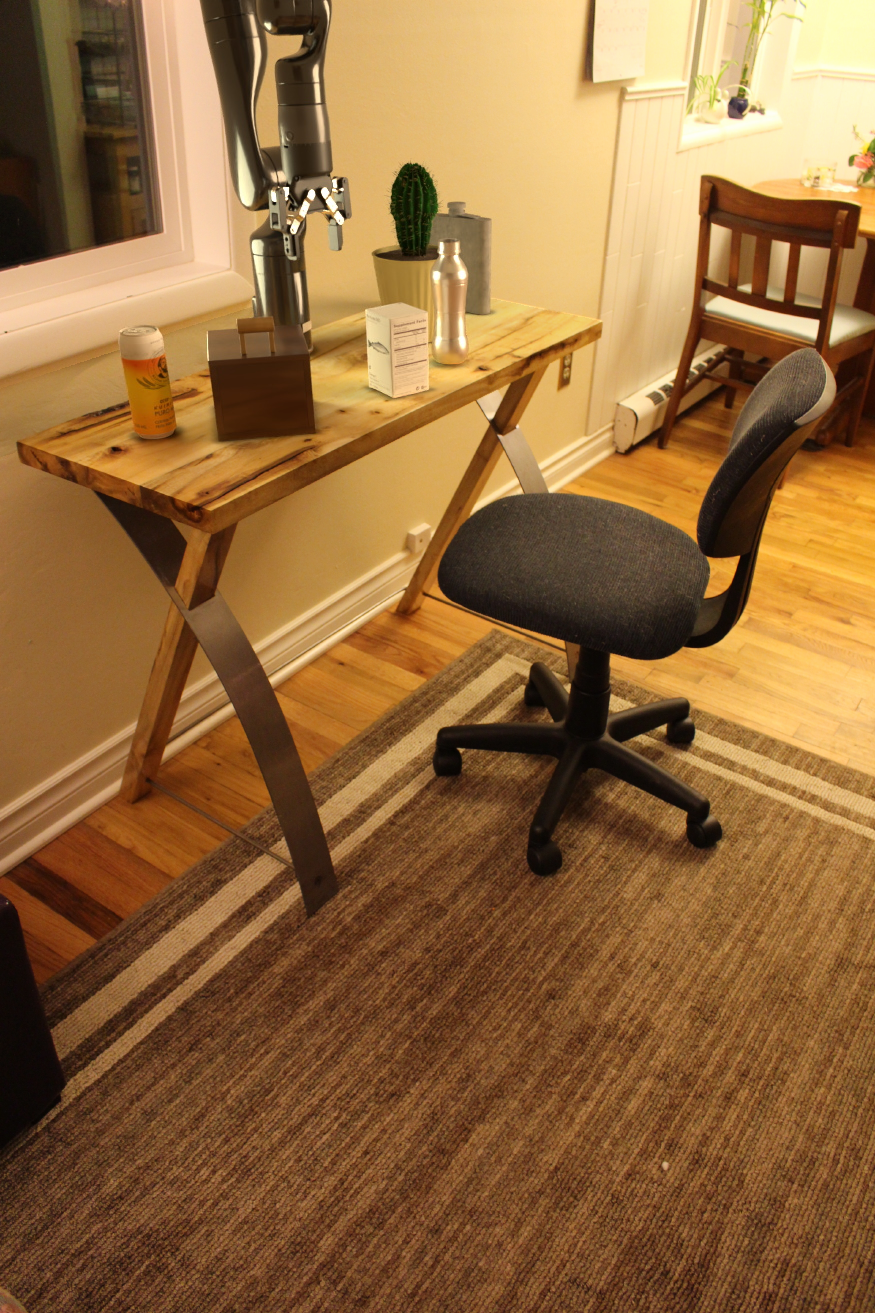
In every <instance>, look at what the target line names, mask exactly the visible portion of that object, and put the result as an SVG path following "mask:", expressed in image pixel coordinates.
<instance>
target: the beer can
mask: <svg viewBox="0 0 875 1313" xmlns="http://www.w3.org/2000/svg"><path fill="white" fill-rule="evenodd" d="M118 331H119V335H118V338H117V343H118V348H119V354H120V359H121V365H122V370H123V377H124V382H125V386H126V392H127V397H128V398H127V399H128V403H129V410H130V415H131V421H132V425H133V430H134V432H135V433H136V434H138V436H139V437H140V438H142V439H145V440H160V439H163V438H167V437H170V436H172V435H173V434H174V433H175V430H176V428H177V419H176V413H175V407H174V401H173V400H174V399H173V394H172V387H171V382H170V375H169V369H168V363H167V355H166V349H165V344H164V337H163V334H162V333H161V332H160V331H161V330H160V329H159V327H158V326H156V325H152V324H136V325H129V326H126V327H123V328H121V329H120V330H118Z"/></svg>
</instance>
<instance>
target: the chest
mask: <svg viewBox="0 0 875 1313" xmlns="http://www.w3.org/2000/svg"><path fill="white" fill-rule="evenodd" d="M208 370H209V378H210V385H211V394H212V401H213V407H214V408H213V409H214V415H215V422H216V430H217V437H218V442H225V441H237V440H238V441H239V440H248V439H262V438H263V439H264V438H273V437H274V438H275V437H284V436H285V437H286V436H296V435H308V434H317V429H316V416H315V406H314V405H315V404H314V394H313V393H314V392H313V382H312V380H313V379H312V369H311V358H310V359H306V360H292V361H278V362H264V363H251V364H237V365H223V366H210V367H209V366H208Z"/></svg>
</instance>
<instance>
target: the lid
mask: <svg viewBox="0 0 875 1313" xmlns="http://www.w3.org/2000/svg"><path fill="white" fill-rule="evenodd" d="M235 320H236V328H226V329H214V330H213V329H212V330H206V346H207V347H206V348H207V365H208V368H209V367H210V366H223V365H237V364H251V363H264V362H278V361H292V360H306V359H310V360H311V353H309V350H308V347H307V344H306V341H305V338H304V335H303V332H302V328H301V325H300V324H299V325H284V326H274V321H273V317H257V318H253V317H245V318H244V317H243V318H236V319H235Z"/></svg>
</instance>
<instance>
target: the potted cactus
mask: <svg viewBox="0 0 875 1313" xmlns="http://www.w3.org/2000/svg"><path fill="white" fill-rule="evenodd" d="M411 160H412V159H410V161H408V162H406V163H404V164H401V163H399V166H401V167H400V168H399V170H398V171H397V170H394V171H393V172H391V173H392V174H394V175H393V176H395V179H394V180H393V181H394V182H393V181H392V184H391V186H390V188H388V187H387V189H389V190H390V191H388V190H387V192H388V193H391V194H390V196H388V195H387V197H389V198H390V199H388V201H390V202H388V204H385V205H387V206H389V210H390V211H389V214H390V215H391V216H392V219H393V220H392V221H391V223H390V224H391V227H392V226H394V228H392V229H391V231H390V233H391V232H392V233H391V234H395V238H396V241H395V244H394V245H389V246H382V247H379V248H376V249H374V250H373V251H372V252H371V256H372V262H373V267H374V273H375V279H376V283H377V284H376V285H377V290H378V295H379V300H380V306H384V305H389V304H394V303H404V304H407V305H410V306H413V307H415V308H418V309H421V310H424V311H427V312H428V343H432V338H433V335H434V334H433V332H434V302H433V293H432V287H431V280H430V272H431V268H432V267H433V265H434V263H435V261H436V260H437V258H438V257H439V253H438V252H437V249H438V245H431V244H429V243H430V239H431V238H430V237H431V232H432V231H431V227H434V226H433V225H432V222H433V221H432V220H433V219H434V217H435V216H436V217H438V216H439V215H438V216H437V213H440V212H442V210H441V209H442V207H444V206H442V205H440V203H443V202H442V201H444V199H443V200H441V201H440V202H438V200H439V195H441V193H440V192H441V191H437V189H438V185H437V180H435V179H434V177H435V175H432V176H431V172H432V170H433V169H431V170H429V166H426V167H425V165H426V164H427V163H426V162H425V163H424V161H425V160H424V161H423V162H422V163H424V164H425V165H424V164H420V163H418V162H411ZM428 170H429V171H428ZM383 196H385V197H386V195H383ZM440 208H441V209H440ZM439 217H440V216H439ZM434 222H435V221H434ZM393 230H394V231H393ZM432 230H435V229H432Z"/></svg>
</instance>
